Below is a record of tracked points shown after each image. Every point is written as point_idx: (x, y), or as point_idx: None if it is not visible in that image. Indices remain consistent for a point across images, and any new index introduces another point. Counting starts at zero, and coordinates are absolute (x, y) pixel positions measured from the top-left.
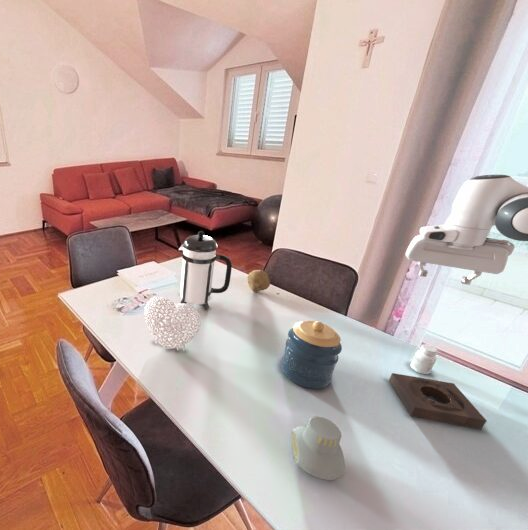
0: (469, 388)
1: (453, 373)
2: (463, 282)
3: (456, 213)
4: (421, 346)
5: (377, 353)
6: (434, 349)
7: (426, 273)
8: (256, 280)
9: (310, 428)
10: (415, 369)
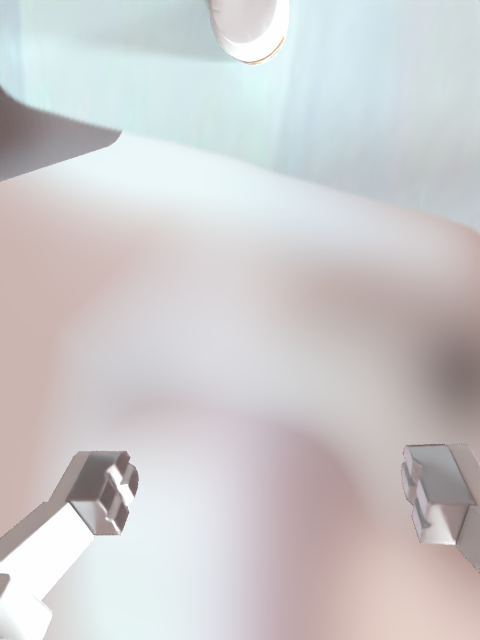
0: (104, 17)
1: (156, 101)
2: (114, 459)
3: None
4: (279, 2)
5: (409, 29)
6: (224, 5)
7: (430, 483)
8: None
9: None
10: None
